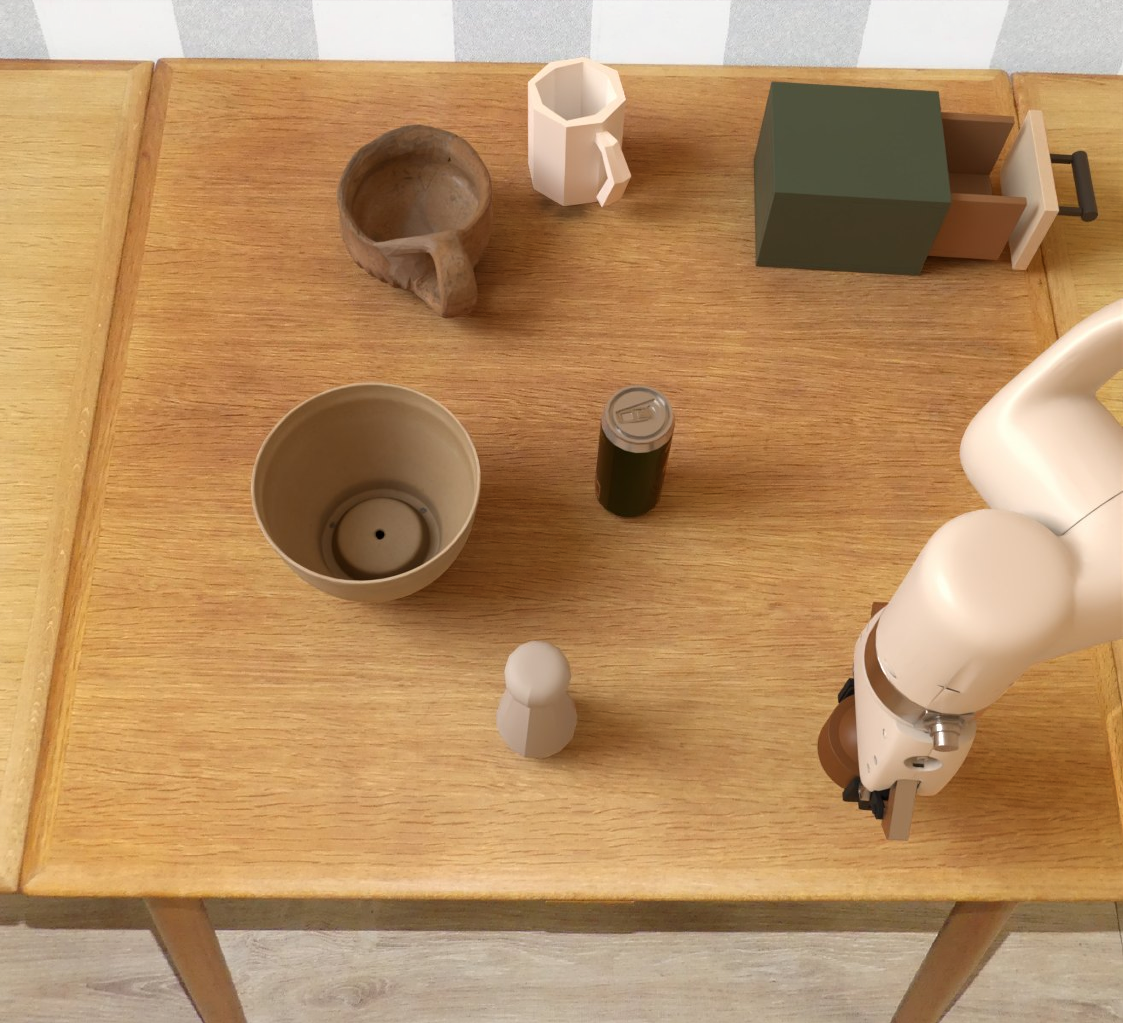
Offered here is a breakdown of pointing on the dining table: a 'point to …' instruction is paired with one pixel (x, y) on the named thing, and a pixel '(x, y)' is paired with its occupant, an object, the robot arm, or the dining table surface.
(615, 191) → the mug
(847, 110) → the cabinet
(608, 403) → the beer can
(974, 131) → the drawer
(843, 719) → the brown dome knob
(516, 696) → the salt shaker
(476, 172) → the brown clay cup
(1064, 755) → the dining table surface
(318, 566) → the planter bowl
